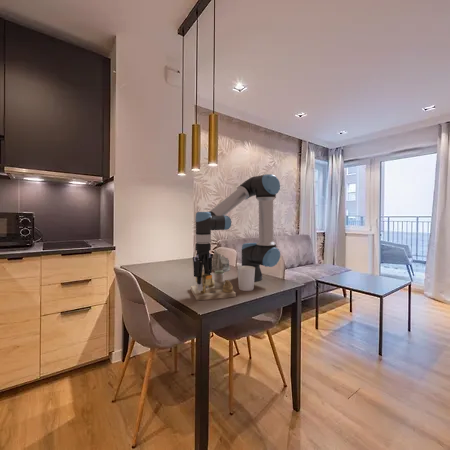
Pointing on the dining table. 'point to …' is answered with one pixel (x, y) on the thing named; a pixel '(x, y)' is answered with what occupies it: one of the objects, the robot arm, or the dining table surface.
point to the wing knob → (205, 281)
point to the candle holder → (246, 278)
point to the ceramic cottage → (220, 262)
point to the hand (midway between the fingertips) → (203, 288)
